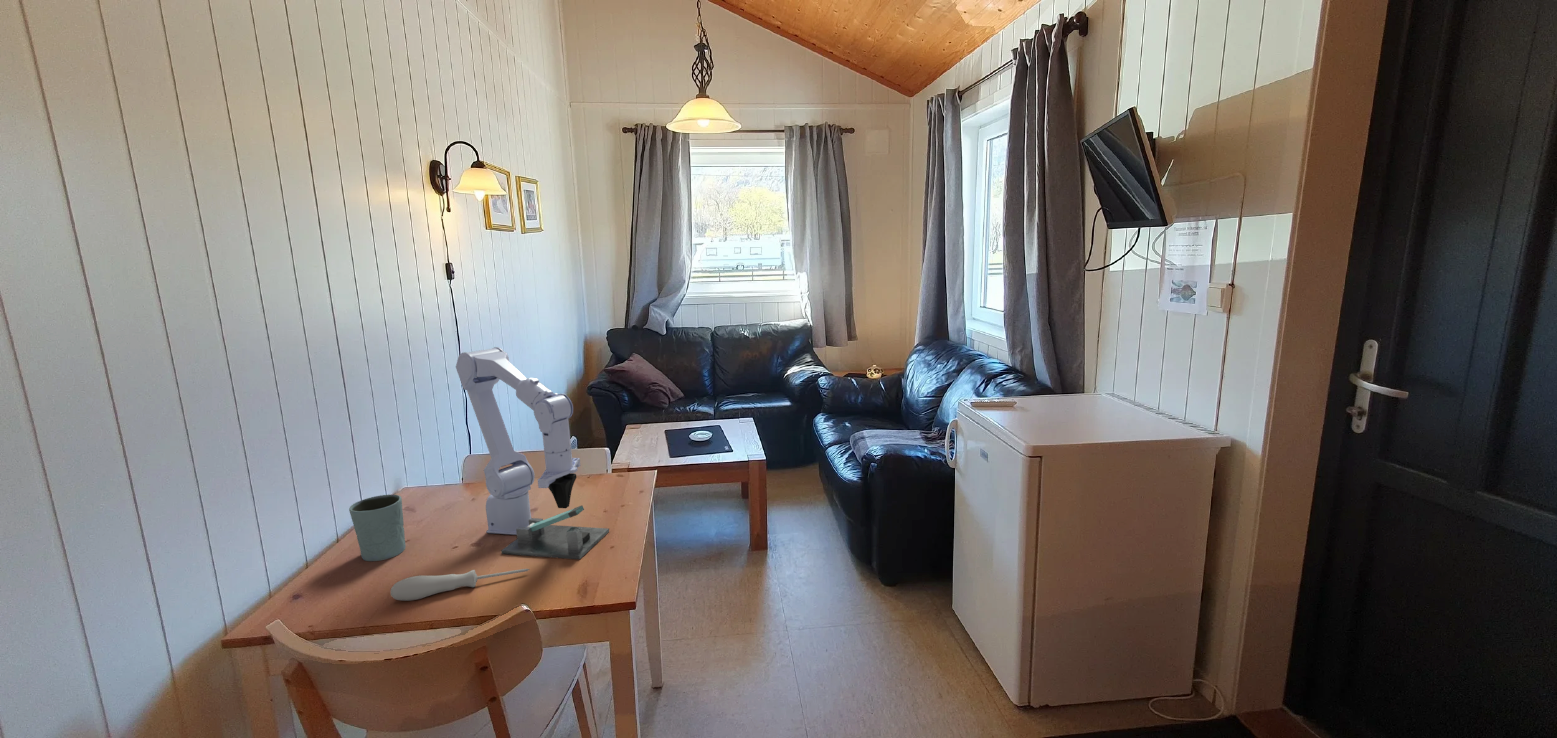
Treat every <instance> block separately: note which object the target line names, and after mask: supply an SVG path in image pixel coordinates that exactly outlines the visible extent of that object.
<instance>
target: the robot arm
mask: <svg viewBox="0 0 1557 738" xmlns="http://www.w3.org/2000/svg"><path fill="white" fill-rule="evenodd" d="M455 369H456V372H457V375H458V378H459V381H460V383H461V385H462V388H463V390H465V391H466V393H467V395H468V398H469V400H470V403H471V406H472V409H473V412H474V413H475V414H474V415H475V417H476V419H477V422H478V426H479V427H480V430H481V434H482V436H483V438H484V441H485V445H486V448H487V450H488V453H489V455H490V457H491V458H490V460H489V461H488V463H487V464H486V466H485V467H484V469H483V472H484V476H485V477H484V478H485V486H486V489H487V491H488V493H489V495H488V497H487V498H486V502H485V512H486V520H487V521H486V522H487V530H486V533H487V534H495V535H496V534H498V535H500V534H501V535H511V536H513V535H514V536H517V532H516V529H517V528H518V527H527V526H529V519H531V518H532V514H531V504H530V493H529V491H530V490H531V486H532V485H533V484H534V482H535V476H536V474H535V471H534V468H533V467H532V465H531V464H530V463H529V461H528V459H527V457H526V455H525V454H523V453H521V452H518V451H516V450H515V449H514V447H513V444H512V441H511V439H510V436H509V433H508V430H507V428H506V425H505V422H504V420H503V416H502V414H501V411H500V409H499V405H498V401H497V400H496V398H495V394H494V392H493V389H494V386H495V385H496V384H497V383H498V382H500V380H501V381H502V382H503V383H505V384H506V385H508V386H510V387H511V388H512V389H514V390H515V395H516V398H517V399H518V400H519V401H521V402H522V403H523V404H525V405H526V406H527V407H528V408H529V409H530V410H532V411H533V415H534V418H535V420H536V422H537V424H538V429H539V432H541V435H542V443H543V452H544V461H545V470H544V471H543V472H542V474H541V476H540V477H539V478H538V479H537V486H538V487H537V488H538V489H549V492H551V494H552V496H553V499H554V501H555V504H556V507H557V509H568V508H569V507H570V502H571V497H572V490H573V487H574V485H575V481H576V479H577V474H576V472H578V468H580V467H581V459H580V457H573V455H572V445H571V431H570V424H569V423H570V422H569V421H570V420H569V419H570V418H572V415H573V414H574V404H573V402H572V400H571V399H570V397H569V396H568V395H567V394H566V393H557V392H555V393H554V391H552V389H549V388H548V386H545V385H544V384H543V383H542V382H540V379H538V378H537V377H535V378H534V377H528V378H527V377H526V376H525V375H524V374H523V373H522V372H521V371H520V370H519V369H517V368H516V367H515V366H514V364H512V363H511V362H510V359H509V355H508V352H505V351H504V350H503V349H502V348H501V347H499V346H494V347H491V348H487V349H481V350H475V351H469V352H468V351H467V352H466V351H465V352H464V351H463V352H461V353H460V354H459V355H458V357H457V361H456V365H455ZM508 465H509V466H508ZM505 466H506V467H505Z"/></svg>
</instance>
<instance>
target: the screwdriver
mask: <svg viewBox="0 0 1557 738" xmlns="http://www.w3.org/2000/svg"><path fill="white" fill-rule="evenodd" d="M528 571H530V568H522V569H516V570H515V569H514V570H509V571H504V572H503V571H502V572H495V573H492V574H491V573H490V574H484V575H478V574H477V573H476V570H475V569H472V570H470V571H468V572H466V573H459V574H457V573H456V574H455V573H451V574H449V573H448V574H443V575H442V574H441V575H415V576H414V575H413V576H409V577H406V578H403V579H401V580H398V581H397V582H395V583H394V584H393V585H392V587H391V588H390V596H391V597H392V598H393V599H394V600H396V601H405V602H407V601H417V600H421V599H423V598H426V597H429V596H433V595H436V594H438V593H439V594H440V593H444V592H448V591H453V590H456V589H458V588H463V587H469V588H476V586H477V585H476V584H477V582H478V580H481V579H488V578H493V577H501V576H505V575H512V574H519V573H525V572H528Z"/></svg>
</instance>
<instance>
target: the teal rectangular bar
mask: <svg viewBox="0 0 1557 738" xmlns="http://www.w3.org/2000/svg"><path fill="white" fill-rule="evenodd" d="M584 510H585V508H584V506H583V505H579V506H576V507H574V508H572V509H569V510H567V511H564V512H561V513H559V514H556V515H553V516H551V517H548V518H545V519H543V520H542V521H540V522H537V523H532V524H530V525H529V526H527V527H531V531H532V532H533V531H535V530H538V529H541V528H543V527H546V526H549V525H555V524H557V523H559V522H562V521H564V520H567V519H569V518H574V517H576V516H578V515H580V514H581V513H582V512H583V511H584Z"/></svg>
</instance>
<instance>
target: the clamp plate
mask: <svg viewBox="0 0 1557 738" xmlns="http://www.w3.org/2000/svg"><path fill="white" fill-rule="evenodd" d="M542 520H544V518H539V517H538V518H537V517H536V518H535V517H531V519H529V525H530V524H532V523H537V522H540V521H542ZM516 532H517V535H516V539H514V541H512V542H510V543H509V544H508V545H507V546H505V547H504V548H503V549H501V550H500V551H501V552H500V553H501V555H511V556H512V555H513V556H523V557H525V556H526V557H540V558H551V559H552V558H554V559H555V558H556V559H569V560H581V559H582V558H584V556H585V555H587V553H588V552H589V551H591V550H592V549H593V548H594V547H595V546H596V545H597V544H598V543H599V542H601V540H602V539H603V538H605V536H606V535H608V533H609V532H610V528H607V527H606V528H605V527H587V526H573V525H571V526H569V525H557V524H551V525H549V526H546V527H543V528H541V529H538V530H535V531H533V532H532V531H531V527H518V528H517V529H516Z"/></svg>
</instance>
